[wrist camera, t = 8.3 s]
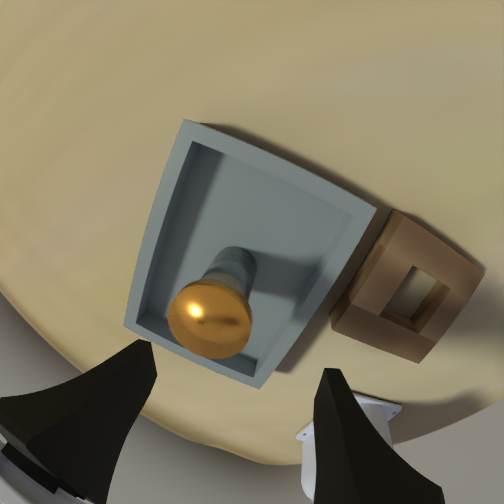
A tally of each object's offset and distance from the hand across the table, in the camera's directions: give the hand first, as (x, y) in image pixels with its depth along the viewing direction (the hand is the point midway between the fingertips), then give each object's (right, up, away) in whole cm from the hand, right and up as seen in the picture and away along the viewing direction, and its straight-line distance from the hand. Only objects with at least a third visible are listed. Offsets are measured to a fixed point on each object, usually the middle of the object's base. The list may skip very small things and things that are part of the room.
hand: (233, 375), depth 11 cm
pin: (0, +4, +9) cm, 9 cm away
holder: (+12, +2, +8) cm, 15 cm away
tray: (-1, +4, +9) cm, 10 cm away
